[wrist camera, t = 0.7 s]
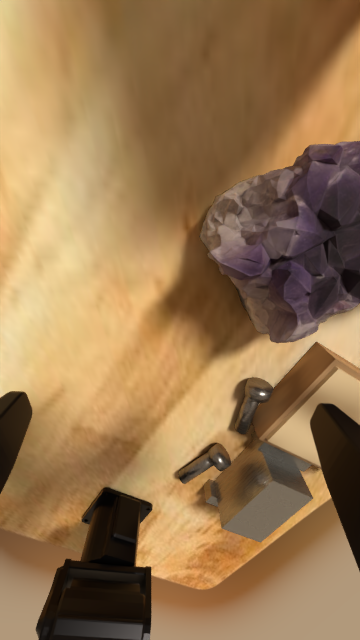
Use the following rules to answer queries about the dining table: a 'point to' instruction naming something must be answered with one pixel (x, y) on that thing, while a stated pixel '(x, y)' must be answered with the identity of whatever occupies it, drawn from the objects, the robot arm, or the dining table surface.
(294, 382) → the stand
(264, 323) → the geode
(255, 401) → the bolt
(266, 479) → the block
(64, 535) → the dining table surface
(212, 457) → the bolt
